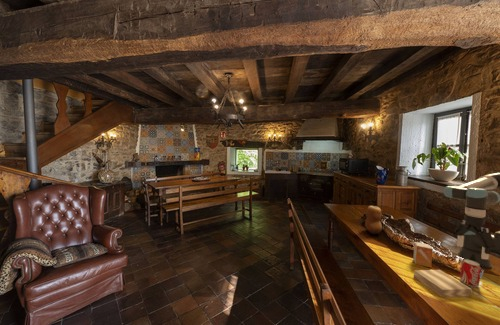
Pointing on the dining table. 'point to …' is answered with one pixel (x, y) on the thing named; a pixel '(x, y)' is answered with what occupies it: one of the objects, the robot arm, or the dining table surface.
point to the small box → (422, 254)
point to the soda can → (470, 273)
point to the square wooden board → (442, 283)
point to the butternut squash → (373, 219)
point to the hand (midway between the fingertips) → (471, 252)
